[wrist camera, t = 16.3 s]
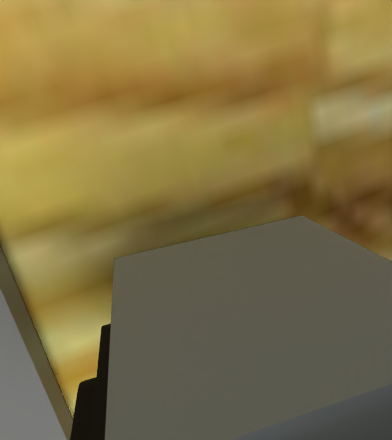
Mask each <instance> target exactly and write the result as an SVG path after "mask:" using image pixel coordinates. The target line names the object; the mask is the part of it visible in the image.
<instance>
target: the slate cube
mask: <svg viewBox="0 0 392 440" xmlns="http://www.w3.org/2000/svg"><path fill="white" fill-rule="evenodd" d="M105 440H392V262H391V261H389V260H387V259H386V258H384V257H382V256H380V255H378V254H376V253H374V252H372V251H370V250H368V249H366V248H364V247H362V246H360V245H358V244H357V243H355V242H353V241H351V240H349V239H347V238H345V237H343V236H341V235H339V234H337V233H335V232H333V231H331V230H329V229H327V228H326V227H324V226H322V225H320V224H318V223H316V222H314V221H312V220H310V219H308V218H306V217H304V216H302V215H301V216H297V217H293V218H288V219H284V220H280V221H275V222H271V223H267V224H262V225H258V226H253V227H249V228H245V229H240V230H236V231H232V232H227V233H223V234H219V235H214V236H210V237H206V238H201V239H197V240H193V241H188V242H184V243H180V244H175V245H171V246H166V247H162V248H158V249H153V250H149V251H145V252H140V253H136V254H132V255H127V256H123V257H119V258H114V273H113V293H112V312H111V331H110V350H109V369H108V389H107V408H106V427H105Z"/></svg>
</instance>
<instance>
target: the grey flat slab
mask: <svg viewBox="0 0 392 440" xmlns="http://www.w3.org/2000/svg"><path fill="white" fill-rule="evenodd" d="M72 424H73V419H72V417H71V414H70V412H69V410H68V407H67V405H66V402H65V400H64V398H63V395H62V393H61V390H60V388H59V386H58V383H57V381H56V378H55V376H54V374H53V371H52V369H51V366H50V364H49V362H48V359H47V357H46V354H45V352H44V349H43V347H42V345H41V342H40V340H39V337H38V335H37V333H36V330H35V328H34V325H33V323H32V321H31V318H30V316H29V313H28V311H27V309H26V306H25V304H24V301H23V299H22V297H21V294H20V292H19V289H18V287H17V285H16V282H15V280H14V277H13V275H12V273H11V270H10V268H9V265H8V263H7V261H6V258H5V256H4V253H3V251H2V249H1V246H0V440H70V436H71V430H72Z"/></svg>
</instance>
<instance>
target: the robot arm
mask: <svg viewBox="0 0 392 440" xmlns="http://www.w3.org/2000/svg"><path fill="white" fill-rule="evenodd" d="M110 331H111V324H108V325H104V326H102V328H101V338H100V348H99V359H98V369H97V377H96V378H92V379H89V380H85V381H82V382H81V383H80V384H79V388H78V393H77V399H76V405H75V412H74V418H73V424H72V430H71V436H70V440H105V427H106V408H107V389H108V369H109V350H110Z"/></svg>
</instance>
